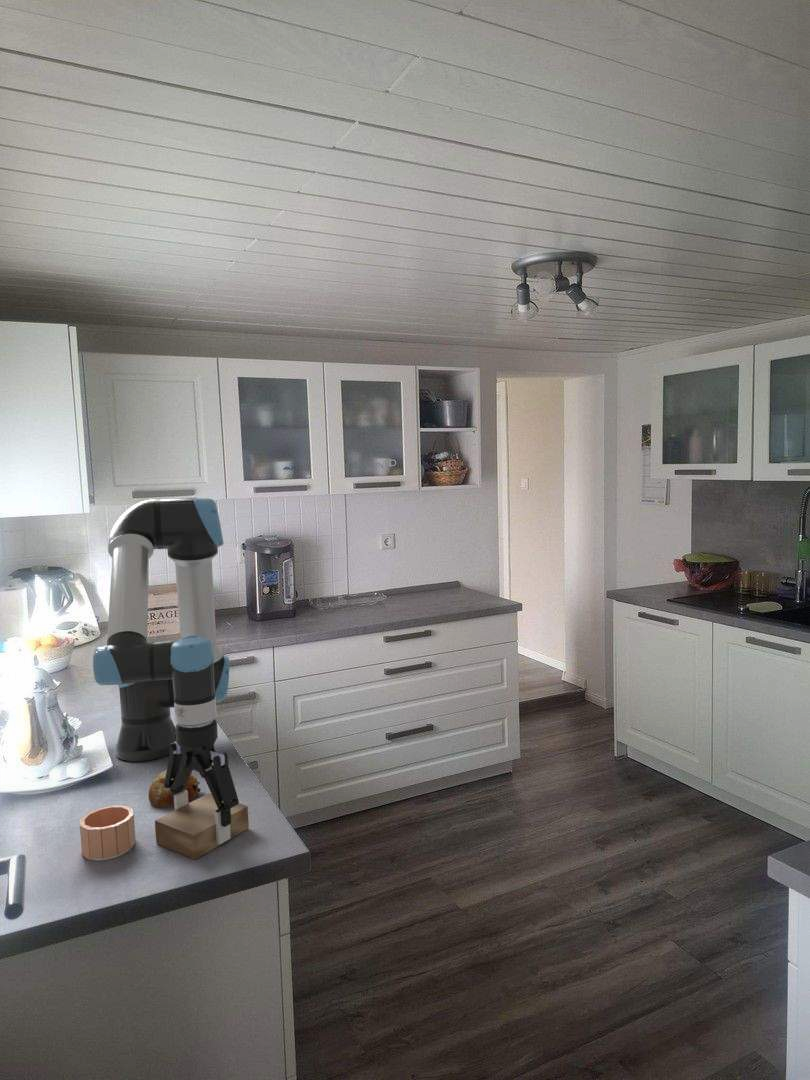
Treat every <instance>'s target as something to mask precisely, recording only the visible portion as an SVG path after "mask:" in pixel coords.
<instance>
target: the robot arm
mask: <svg viewBox="0 0 810 1080" xmlns="http://www.w3.org/2000/svg"><path fill="white" fill-rule="evenodd" d="M219 515H220V514H219V511H218V506H217V503H216V501H215V500H213V499H212V498H208V497H207V498H205V497H203V498H201V497H198V498H197V497H187V498H167V499H148V500H143V501H140V502H138V503H136V504H134V505H132V506H131V507H129V508H128V509H127V510H126V511H125V512H124V513H122V515H120V517H119V518H118V519H117V521H116V522H115V524H113V527H112V529H111V531H110V533H109V537H108V543H107V544H108V545H107V551H108V555H109V557H111V558H112V559H111V561H112V562H111V575H110V591H109V602H108V603H109V606H108V607H109V608H108V620H107V634H106V635H107V636H106V637H107V638H106V645H104V646H99V647H96V648H95V649H94V652H93V655H92V656H93V657H92V658H93V659H92V666H93V667H92V670H93V677H94V680H95V682H96V684H97V685H99V686H118V688H119V702H120V715H121V716H120V717H121V725H120V730H119V733H118V738H117V742H116V744H115V755H117V756H116V758H118V759H119V758H120V759H119V760H121V759H122V761H124V760H126V762H147V761H153V760H157V759H161V758H164V757H166V756H168V757H169V758H168V763H167V768H166V770H167V772H166V777H165V783H164V786H165V788H166V789H167V788H169V789H170V791H171V793H172V794H173V808H174V811H175V810H177V809H179V808H181V807H183V806H185V805H187V804H188V803H189V802H188V791H187V790H184V791H182V790H183V789H185V788H187V787H186V783H187V781H188V779H189V777H190V775H192V772H193V770H194V771H195V772H198V773H199V776H200V777H201V778H203V779H204V781H205V783H206V785H207V787H208V790H209V791H210V794H212V796H213V798H214V801H215V803H216V805H217V807H218V809H216V810H215V823H216V838H217V844H219V846H221V845H223V844H224V843H223V842H225V841H226V842H228V841H230V840H231V839H232V838H231V836H230V824H231V808H232V807H234V806H236V805H238V804H239V803H240V802H239V798H238V794H237V791H236V787H235V784H234V780H233V776H232V773H231V770H230V767H229V755H228V753H227V751H226V752H225V751H224V752H222V753H219V752H217V751H216V748H215V743H216V741H217V739H218V721H217V719H216V718H217V715H218V713H217V703H221V702H223V701H224V700H225V699H226V698H227V696H228V690H229V685H230V684H229V682H230V681H229V680H230V657H229V656H228V655H225V654H224V651H223V649H222V648H221V647H220V646H219V645H217V635H216V633H217V632H216V627H217V626H216V614H215V613H216V611H215V610H216V609H215V597H214V595H215V594H214V577H213V576H214V575H213V573H214V572H213V561H212V560H213V559H214V558H215V557H216V556H217V555H218V553H219V552H218V549H219V548H220V547H222V546H223V545H224V538H223V537H224V536H223V532H222V527H221V522H220V521H221V520H220V516H219ZM218 547H219V548H218ZM154 550H167V551H166V552H167V557H168V558H169V559H170V560H172V562H174V567H175V581H176V583H175V584H176V595H177V609H178V622H179V635H180V636H179V637H180V639H178V640H177V639H176V640H167V641H157V642H148V623H149V622H148V621H149V620H148V616H149V615H148V613H149V609H148V608H149V567H150V566H149V564H150V563H149V562H150V561H149V560H150V559H151V558H152V556H153V554H154ZM171 708H174V721H175V723H176V724H174V722H173V720H172V717H171V715H172V714H171ZM172 778H173V779H172ZM171 779H172V780H171ZM222 801H223V803H222ZM230 838H231V839H230ZM229 839H230V840H229ZM227 840H228V841H227ZM226 842H225V843H226ZM222 843H223V844H222ZM220 844H221V845H220Z"/></svg>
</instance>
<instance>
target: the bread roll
mask: <svg viewBox="0 0 810 1080" xmlns="http://www.w3.org/2000/svg"><path fill="white" fill-rule="evenodd" d="M166 772H167V769H166V770H164V771H162V772H160V773H159V774H158V775H157V776H156V778H155V779H154V780H152V782H151V784H150V786H149V789H148V800H149V803H150V804H151V805H152V806H154V807H158V808H162V809H164V808H174V806H173V794H172V793H171V791H170V789H169V788H167V789H166V788H165V786H164V783H165V777H166ZM172 779H173V778H172ZM172 779H171V780H172ZM200 784H201V782H200V780H198V778H197V777H196V776H194V775H193V774H191V775H190V777H189V779H188V781H187V783H186V787H187V788H185V789H183V790H182V791H184V790H187V791H188V803H190V802H192V801H194V800H196V797H197V796H198V794H199V793H200V792H201V791H202V789H201V788H199V785H200ZM193 799H194V800H193Z"/></svg>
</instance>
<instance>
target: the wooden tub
mask: <svg viewBox="0 0 810 1080" xmlns="http://www.w3.org/2000/svg"><path fill="white" fill-rule="evenodd" d="M134 815H135V813H134V809H133V808H132V807H129V806H127V805H109V806H104V807H99V808H96V809H93V810H92V811H90V812H87V813H86V814H84V815H83V816H82V817H81V818H80V819H79V831H80V843H81V844H80V845H81V847H80V848H81V854H82V856H83V857H84V858H85V859H86V860H88V861H89V860H90V861H96V862H98V861H107V860H112V859H115V858H119V857H120V856H123V855H125V854H126V853H128V852H129V851H131V850H132V849H133V847H134V846H135V844H136V842H137V841H136V840H137V839H136V827H135V826H136V825H135V816H134Z"/></svg>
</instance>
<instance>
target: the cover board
mask: <svg viewBox="0 0 810 1080" xmlns="http://www.w3.org/2000/svg"><path fill="white" fill-rule="evenodd" d="M222 803H223V801H222ZM248 807H249V806H248V805H245V804H243V803H240V802H239V804H238V805H236V806H234V807H232V808H231V824H230V836H231V838H230V839H229V840H227V841H225V842H223V843H222V844H220V845H219V844H217V838H216V823H215V810H216V809H218V807H217V805H216V803H215V801H214V798H213V796H212V794H211V792H210V793H206V794H205V795H203V796H200V797H199V798H195V799H194V800H192V801H190V802H188V804H187V805H185V806H183V807H181V808H179V809H177V810H175V809H174V810H172V811H171V812H169V813H167V814H165V815H162V816H161V817H158V818H157V819H155V820H154V829H155V831H154V832H155V843H156V844H157V845H159V846H161V847H164V848H166V849H169V850H171V851H174V852H176V853H178V854H181V855H183V856H186V857H188V858H191V859H193V860H197V859H199V858H201V857H202V856H204V855H207V853H209V852H211V851H213V850H215V849H217V847H219V846H222V845H223V844H225V843H226V842H229V841H230V840H231V839H233V838H235V837H236V836H238V835H240V834H242V833H244V832H245V831H247V830H249V828H250V825H249V809H248Z"/></svg>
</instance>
